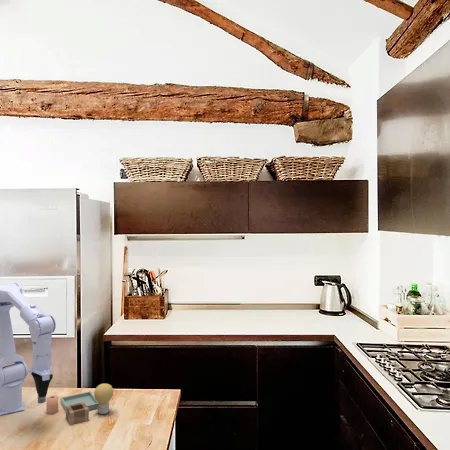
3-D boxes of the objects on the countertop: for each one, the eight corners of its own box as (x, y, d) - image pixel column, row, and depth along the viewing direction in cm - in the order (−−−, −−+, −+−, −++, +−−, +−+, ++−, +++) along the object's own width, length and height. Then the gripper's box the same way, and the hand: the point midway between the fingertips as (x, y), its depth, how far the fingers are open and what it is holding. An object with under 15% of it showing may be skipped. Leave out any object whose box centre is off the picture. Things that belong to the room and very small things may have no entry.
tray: (60, 402, 152) (60, 397, 152) (90, 395, 159) (90, 391, 159) (68, 415, 143) (68, 410, 142) (100, 408, 149) (100, 403, 149)
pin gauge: (37, 401, 136) (37, 379, 136) (44, 399, 137) (45, 378, 137) (38, 403, 134) (38, 382, 134) (46, 402, 135) (46, 381, 135)
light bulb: (114, 408, 149) (115, 380, 148) (110, 416, 142) (110, 387, 142) (96, 408, 148) (97, 380, 148) (91, 416, 142) (92, 387, 142)
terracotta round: (45, 410, 146) (45, 396, 146) (56, 408, 148) (56, 394, 148) (47, 415, 143) (47, 400, 143) (59, 412, 145) (59, 397, 145)
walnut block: (65, 417, 141) (65, 406, 141) (83, 413, 144) (83, 401, 144) (70, 425, 136) (70, 413, 136) (88, 420, 139) (88, 408, 139)
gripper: (25, 349, 139) (24, 389, 140) (32, 362, 127) (31, 406, 127) (47, 346, 143) (47, 385, 143) (56, 358, 131) (56, 401, 131)
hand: (41, 395), depth 136 cm, fingers closed on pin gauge, 2 cm apart
